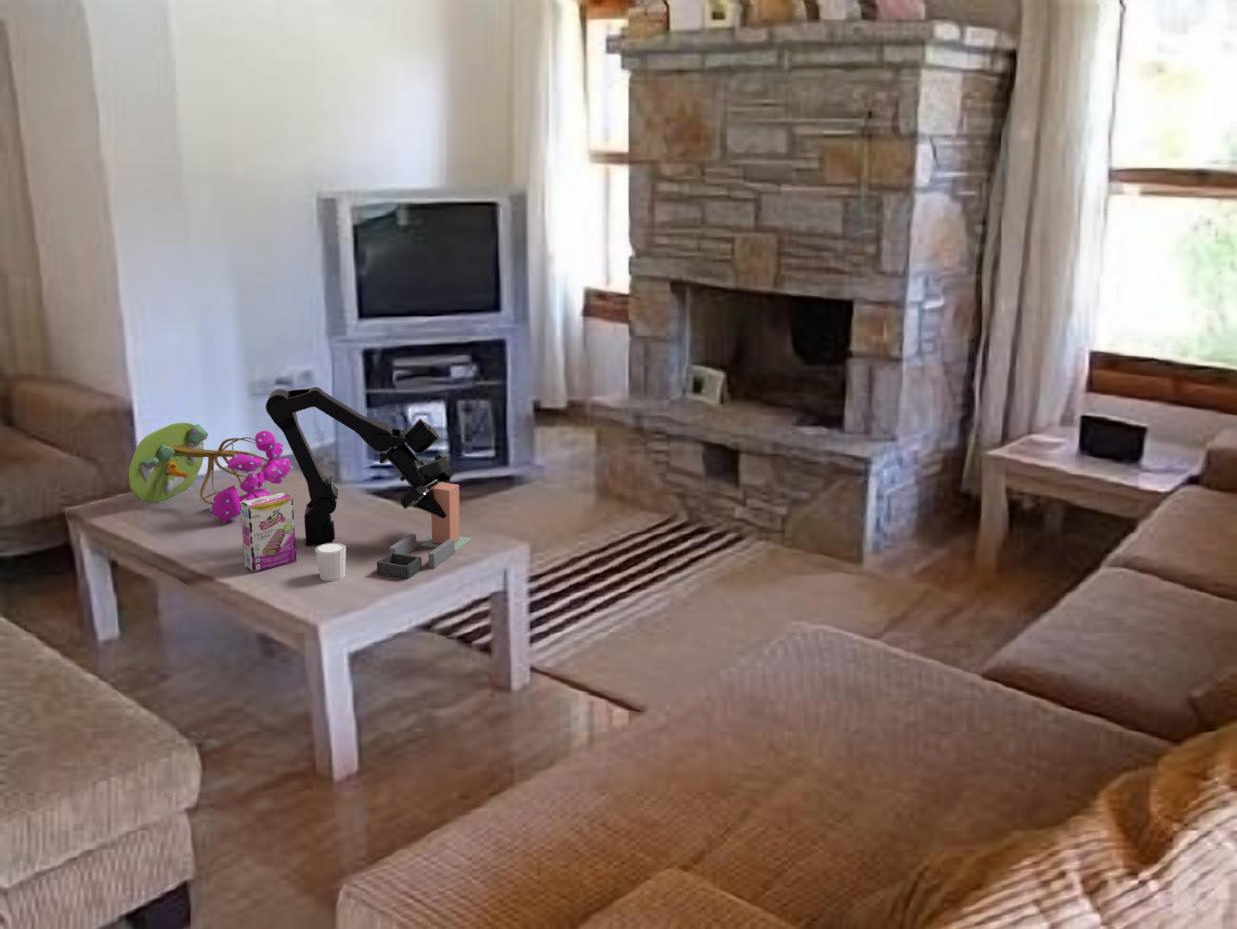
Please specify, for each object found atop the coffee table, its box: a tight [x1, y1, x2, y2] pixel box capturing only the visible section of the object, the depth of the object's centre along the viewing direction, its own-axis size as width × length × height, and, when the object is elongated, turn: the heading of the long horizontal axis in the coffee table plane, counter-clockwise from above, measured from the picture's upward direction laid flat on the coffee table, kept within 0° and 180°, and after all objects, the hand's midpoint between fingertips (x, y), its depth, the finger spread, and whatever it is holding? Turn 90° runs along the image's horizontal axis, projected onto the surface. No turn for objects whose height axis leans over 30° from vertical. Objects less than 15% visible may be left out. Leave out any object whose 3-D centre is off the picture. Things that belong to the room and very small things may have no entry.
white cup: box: [314, 542, 347, 582], centre depth 265 cm, size 7×7×7 cm
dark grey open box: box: [376, 553, 423, 580], centre depth 269 cm, size 8×6×3 cm
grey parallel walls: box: [388, 533, 456, 569], centre depth 277 cm, size 12×10×4 cm
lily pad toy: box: [127, 422, 294, 523], centre depth 308 cm, size 30×28×35 cm
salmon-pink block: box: [430, 482, 461, 544], centre depth 285 cm, size 5×5×14 cm
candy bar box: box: [240, 492, 297, 573], centre depth 270 cm, size 11×5×16 cm, turn 133°
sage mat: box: [419, 536, 474, 552], centre depth 287 cm, size 10×9×1 cm
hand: (450, 513), depth 285 cm, fingers closed on salmon-pink block, 5 cm apart
